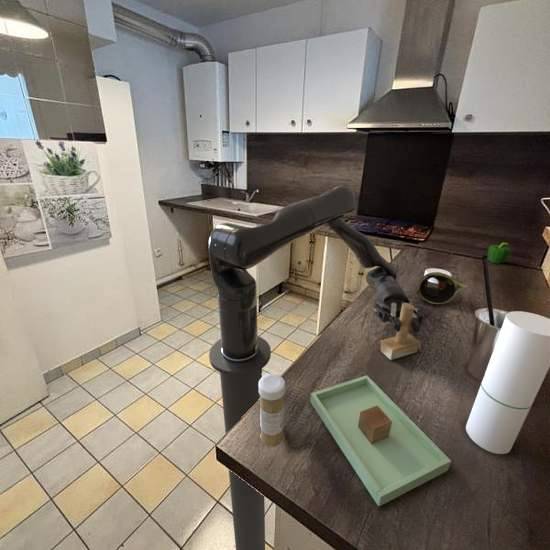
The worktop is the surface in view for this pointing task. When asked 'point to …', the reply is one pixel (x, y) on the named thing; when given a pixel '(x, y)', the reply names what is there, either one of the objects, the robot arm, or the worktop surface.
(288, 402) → the worktop surface
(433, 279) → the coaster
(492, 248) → the bell pepper
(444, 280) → the pot
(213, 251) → the robot arm
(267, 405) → the sprinkles bottle
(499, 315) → the glass
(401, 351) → the wooden stamp
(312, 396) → the tray
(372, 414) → the cork cube
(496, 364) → the cylindrical container
